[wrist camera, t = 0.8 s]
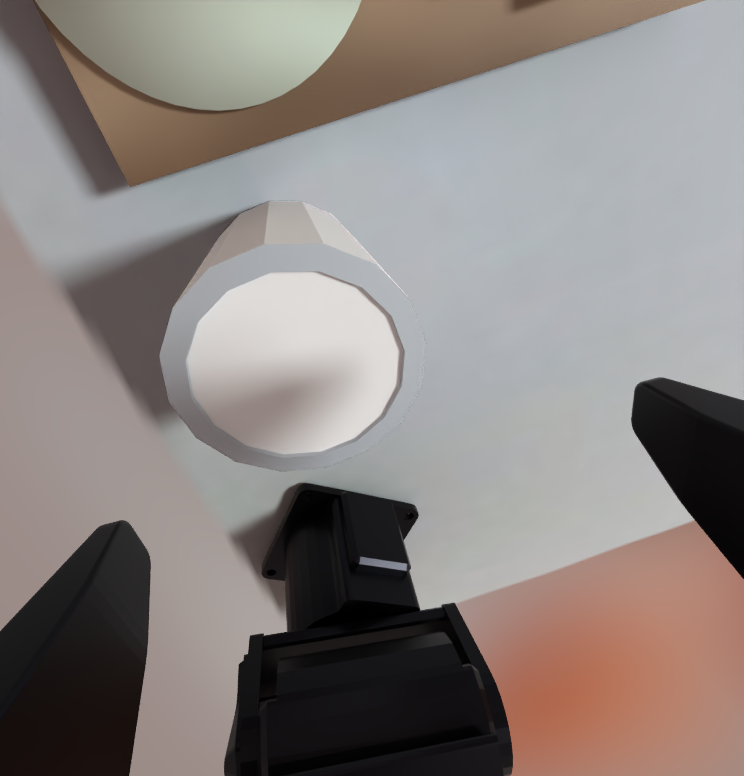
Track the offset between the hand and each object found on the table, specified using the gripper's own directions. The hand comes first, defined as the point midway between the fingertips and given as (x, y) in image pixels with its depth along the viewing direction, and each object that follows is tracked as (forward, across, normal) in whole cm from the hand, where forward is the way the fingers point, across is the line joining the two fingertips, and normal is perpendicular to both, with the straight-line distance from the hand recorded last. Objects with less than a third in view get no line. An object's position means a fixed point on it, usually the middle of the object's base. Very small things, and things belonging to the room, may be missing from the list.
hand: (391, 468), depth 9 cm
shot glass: (+12, +2, 0) cm, 12 cm away
